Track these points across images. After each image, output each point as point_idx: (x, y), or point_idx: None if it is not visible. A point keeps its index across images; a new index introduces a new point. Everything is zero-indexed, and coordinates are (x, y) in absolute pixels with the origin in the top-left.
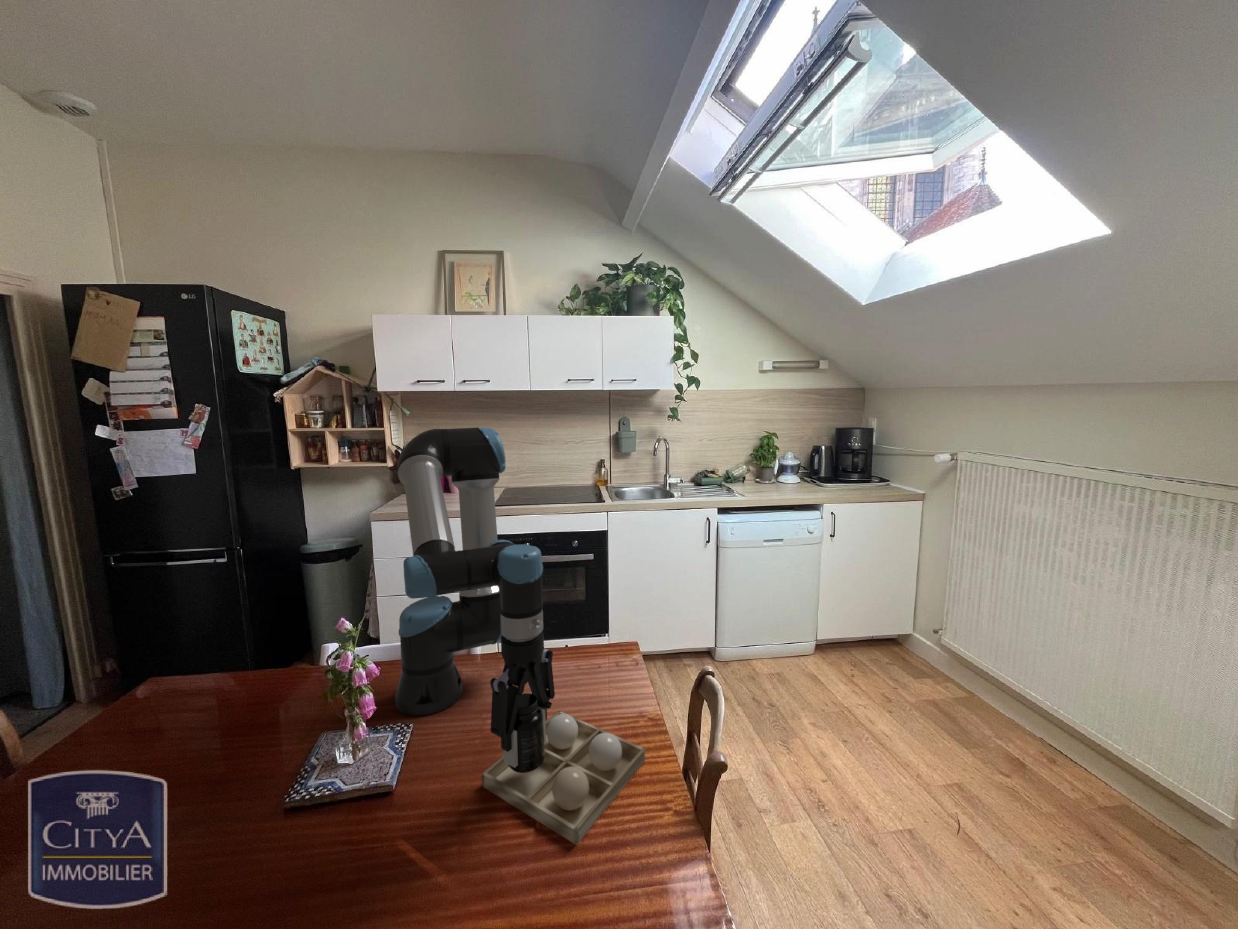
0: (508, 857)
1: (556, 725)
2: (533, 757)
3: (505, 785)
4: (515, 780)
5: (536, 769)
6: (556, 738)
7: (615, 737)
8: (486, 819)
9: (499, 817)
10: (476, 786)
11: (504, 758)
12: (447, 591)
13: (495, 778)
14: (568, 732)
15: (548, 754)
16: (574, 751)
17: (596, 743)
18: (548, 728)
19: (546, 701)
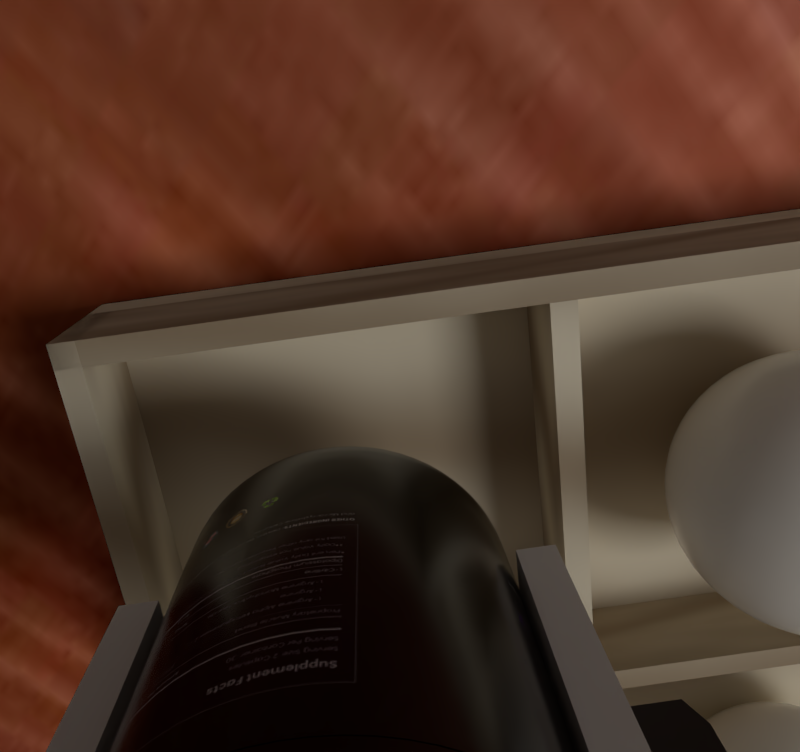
0: (5, 746)
1: (791, 573)
2: None
3: (133, 570)
4: (295, 443)
5: (458, 469)
6: (698, 560)
7: None
8: (18, 505)
9: (87, 545)
10: (90, 231)
11: (109, 637)
12: None
13: (110, 466)
14: (794, 633)
15: (561, 544)
16: (690, 664)
17: None
18: (745, 467)
19: None
